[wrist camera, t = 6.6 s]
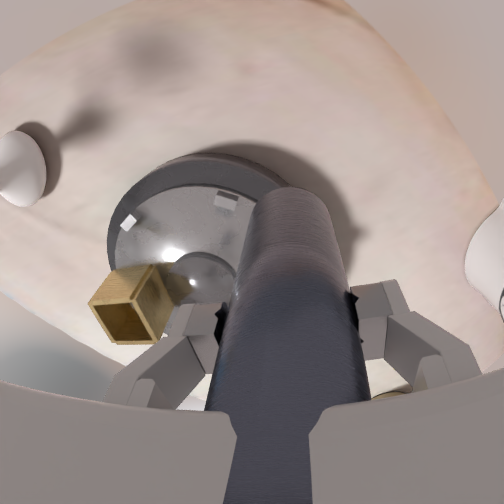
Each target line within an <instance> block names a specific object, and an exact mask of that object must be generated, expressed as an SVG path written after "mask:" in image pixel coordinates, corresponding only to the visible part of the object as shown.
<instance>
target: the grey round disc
mask: <svg viewBox="0 0 504 504" xmlns="http://www.w3.org/2000/svg"><path fill="white" fill-rule="evenodd" d="M257 202H258V200H257V199H255V198H253V197H251V196H249V195H247V194H245V193H243V192H240V191H238V190H235V189H232V188H229V187H224V186H220V185H215V184H206V183H190V184H183V185H177V186H173V187H170V188H167V189H164V190H162V191H160V192H158V193H156V194H154V195H152V196H150V197H149V198H148V199H146V200H145V201H143V202H142V203H141V204H140V205H139V206H138V207H137V208H136V209H134V210H133V211H132V212H131V213H130V214H129V216H128V217H127V218H126V219H125V220H124V222H123V223H122V224H121V225H120V226H121V227H122V228H121V230H120V232H119V235H118V238H117V242H116V248H115V265H116V270H113V271H112V272H111V273H110V274H109V275H108V277H107V278H106V279H105V281H104V282H103V283H102V285H101V286H100V287H99V289H98V290H97V291H96V293H95V294H94V295H93V297H92V298H91V300H90V301H89V302H88V305H89V307H90V309H91V310H92V312H93V313H94V315H95V317H96V318H97V320H98V322H99V323H100V325H101V326H102V328H103V330H104V331H105V333H106V334H107V336H108V337H109V339H110V340H111V342H112V343H116V344H117V345H138V344H155V343H156V342H158V341H159V340H160V338H161V336H162V334H163V332H164V333H166V334H167V335H168V334H169V332H170V329H171V327H172V324H173V322H174V320H175V317H176V315H177V312H178V310H179V308H180V306H181V305H183V304H194V303H195V304H196V303H207V302H222V301H224V302H225V303H226V304H227V306H228V307H229V302H230V298H231V294H232V290H233V286H234V281H235V277H236V273H237V269H238V265H239V261H240V257H241V253H242V248H243V244H244V240H245V236H246V232H247V228H248V224H249V220H250V216H251V212H252V210H253V208H254V206H255V205H256V203H257ZM130 302H131V303H132V305H133V306H134V308H133V307H132V305H131V303H130Z"/></svg>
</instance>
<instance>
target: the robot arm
mask: <svg viewBox="0 0 504 504" xmlns="http://www.w3.org/2000/svg"><path fill="white" fill-rule="evenodd" d="M465 274H466V278H467V280H468V282H469V284H470V285H471V286H472V287H473V288H474V289H475V290H477V291H478V292H479V293H480V294H481V295H482V296H483V297H484V298H485V299H486V300H487V302H488V303H489V304H490V305H491V306H493V307H494V308H495V310H496V311H497V312H498V313H499V314H500V316H501V317H502V319H503V322H504V198H503V200H502V202H501V204H500V205H499V207H498V208H497V209H496V210H495V211H494V212H493V213H492V214H491V215H490V216H489V217H488V218H487V219H486V220H485V221H484V222H483V223H482V224H481V226H480V227H479V228H478V230H477V231H476V233H475V234H474V236H473V238H472V240H471V242H470V244H469V247H468V250H467V253H466V258H465ZM350 296H351V300H352V304H353V308H354V312H355V318H356V322H357V327H358V332H359V336H360V340H361V345H362V350H363V355H364V360H373V359H380V358H384V360H385V361H386V362H388V363H389V364H390V365H391V366H392V367H393V368H394V369H395V370H396V371H397V372H398V373H399V374H400V375H401V376H402V377H403V378H404V379H405V380H406V381H407V382H408V383H409V384H410V385H411V386H412V387H413V389H412V392H411V393H408V394H403V395H398V396H392V397H387V398H381V399H375V400H369V401H362V402H356V403H348V404H340V405H335V406H332V407H329V408H327V409H325V410H324V411H323V412H322V414H321V416H320V418H319V420H318V422H317V423H316V425H315V426H314V428H313V429H312V430H311V432H310V433H309V448H310V463H311V480H312V499H313V504H504V368H501V369H498V370H495V371H492V372H489V373H486V374H483V375H482V373H481V371H480V368H479V366H478V364H477V361H476V359H475V357H474V355H473V353H472V350H471V348H470V346H469V345H468V344H466V343H464V342H463V341H461V340H460V339H458V338H457V337H455V336H453V335H452V334H450V333H449V332H447V331H446V330H444V329H442V328H441V327H439V326H438V325H436V324H434V323H433V322H431V321H430V320H428V319H426V318H425V317H423V316H422V315H420V314H418V313H417V312H415V311H413V312H410V310H409V307H408V305H407V303H406V300H405V298H404V296H403V293H402V291H401V289H400V287H399V284H398V282H397V280H395V279H393V280H388V281H382V282H380V283H373V284H366V285H359V286H353V287H350ZM227 311H228V306H227V304H226V303H225V302H224V301H222V302H207V303H196V304H195V303H194V304H183V305H181V306H180V308H179V310H178V312H177V315H176V317H175V320H174V322H173V324H172V327H171V329H170V332H169V334H168V337H163V338H162V339H161V340H159V341H158V342H157V343H155V344H154V345H153V346H152V347H150V348H149V349H148V350H147V351H145V352H144V353H143V354H141V355H140V356H139V357H138V358H136V359H135V360H134V361H133V362H131V363H130V364H129V365H127V366H126V367H125V368H124V369H122V370H121V371H120V372H119V373H117V374H116V375H115V376H114V378H113V380H112V382H111V384H110V386H109V388H108V390H107V393H106V395H105V397H104V399H103V402H98V401H91V400H85V399H80V398H73V397H69V396H63V395H58V394H54V393H49V392H44V391H40V390H36V389H31V388H27V387H23V386H20V385H16V384H12V383H8V382H5V381H2V380H0V504H223V500H224V496H225V491H226V487H227V482H228V478H229V473H230V468H231V464H232V459H233V454H234V450H235V445H236V440H237V435H236V433H235V431H234V429H233V427H232V425H231V422H230V418H229V416H228V414H226V413H224V412H221V411H193V410H192V411H191V410H175V409H176V408H177V407H178V406H179V405H180V404H181V403H182V401H183V400H184V399H185V398H186V397H187V396H188V395H189V394H190V392H191V391H192V390H193V389H194V388H195V387H196V386H197V384H198V383H199V382H200V381H201V380H202V379H203V378H204V376H205V374H213V370H214V366H215V361H216V357H217V353H218V349H219V344H220V340H221V336H222V332H223V328H224V323H225V319H226V315H227Z"/></svg>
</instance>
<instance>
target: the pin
mask: <svg viewBox="0 0 504 504" xmlns="http://www.w3.org/2000/svg"><path fill="white" fill-rule="evenodd" d="M369 400H371V394H370V388H369V382H368V377H367V371H366V366H365V360H364V355H363V350H362V345H361V340H360V336H359V332H358V327H357V322H356V318H355V312H354V308H353V304H352V300H351V296H350V290H349V286H348V282H347V278H346V274H345V270H344V266H343V262H342V258H341V254H340V250H339V246H338V243H337V239H336V235H335V232H334V228H333V225H332V221H331V217H330V214H329V211H328V209H327V207H326V206H325V204H324V203H323V201H322V200H321V199H320V198H319V197H317V196H316V195H315V194H313V193H311V192H309V191H307V190H305V189H301V188H296V187H284V188H279V189H276V190H273V191H271V192H269V193H267V194H266V195H264V196H263V197H262V198H261V199H260V200H259V201H258V202H257V203H256V205H255V206H254V208H253V210H252V212H251V216H250V220H249V224H248V228H247V232H246V236H245V240H244V244H243V248H242V253H241V257H240V261H239V265H238V269H237V273H236V277H235V281H234V286H233V290H232V294H231V298H230V302H229V307H228V311H227V315H226V319H225V323H224V328H223V332H222V336H221V340H220V344H219V349H218V353H217V357H216V361H215V366H214V370H213V374H212V379H211V383H210V387H209V392H208V396H207V400H206V405H205V409H204V411H221V412H224V413H226V414H228V416H229V418H230V422H231V425H232V427H233V429H234V431H235V433H236V435H237V440H236V445H235V450H234V454H233V459H232V464H231V468H230V473H229V478H228V482H227V487H226V491H225V496H224V500H223V504H313V499H312V480H311V463H310V448H309V433H310V432H311V430H312V429H313V428H314V426H315V425H316V423H317V422H318V420H319V418H320V416H321V414H322V412H323V411H324V410H325V409H327V408H329V407H332V406H335V405H340V404H348V403H356V402H362V401H369Z"/></svg>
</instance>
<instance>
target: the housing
mask: <svg viewBox="0 0 504 504" xmlns="http://www.w3.org/2000/svg"><path fill="white" fill-rule="evenodd" d="M190 183H206V184H215V185H220V186H224V187H229V188H232V189H235V190H238V191H240V192H243V193H245V194H247V195H249V196H251V197H253V198H255V199H257V200H258V201H259V200H260V199H261V198H262V197H263V196H264V195H266V194H267V193H269V192H271V191H273V190H276V189H279V188H284V187H291V186H290V185H289V184H288V183H287V182H286V181H284V180H283V179H282V178H280V177H279V176H278V175H276V174H275V173H274V172H272V171H270V170H269V169H267V168H265V167H263V166H261V165H259V164H257V163H255V162H252V161H249V160H247V159H244V158H241V157H236V156H232V155H228V154H218V153H200V154H192V155H187V156H182V157H179V158H176V159H173V160H170V161H168V162H166V163H164V164H162V165H161V166H159V167H157V168H156V169H154V170H153V171H151V172H150V173H149V174H147V175H146V176H145V177H144V178H142V179H141V180H140V181H139V182H138V183H136V184H135V185H134V186H133V187H132V188H131V189H130V190H129V191H128V192H127V193H126V194H125V195H124V196H123V198H122V199H121V201H120V202H119V204H118V205H117V207H116V209H115V211H114V213H113V215H112V218H111V221H110V225H109V228H108V236H107V253H108V259H109V264H110V268H111V271H113V270H116V265H115V248H116V242H117V238H118V235H119V232H120V230H121V228H122V227H121V226H120V225H121V224H122V223H123V222H124V220H125V219H126V218H127V217H128V216H129V214H130V213H131V212H132V211H133V210H134V209H136V208H137V207H138V206H139V205H140V204H141V203H142V202H143V201H145V200H146V199H148V198H149V197H150V196H152V195H154V194H156V193H158V192H160V191H162V190H164V189H167V188H170V187H173V186H177V185H183V184H190ZM130 303H131V302H130ZM131 305H132V303H131ZM132 307H133V308H134V306H133V305H132Z"/></svg>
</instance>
